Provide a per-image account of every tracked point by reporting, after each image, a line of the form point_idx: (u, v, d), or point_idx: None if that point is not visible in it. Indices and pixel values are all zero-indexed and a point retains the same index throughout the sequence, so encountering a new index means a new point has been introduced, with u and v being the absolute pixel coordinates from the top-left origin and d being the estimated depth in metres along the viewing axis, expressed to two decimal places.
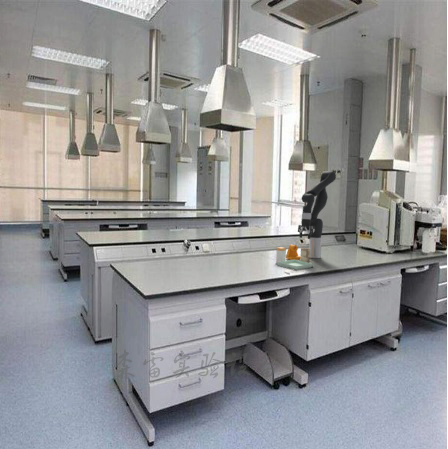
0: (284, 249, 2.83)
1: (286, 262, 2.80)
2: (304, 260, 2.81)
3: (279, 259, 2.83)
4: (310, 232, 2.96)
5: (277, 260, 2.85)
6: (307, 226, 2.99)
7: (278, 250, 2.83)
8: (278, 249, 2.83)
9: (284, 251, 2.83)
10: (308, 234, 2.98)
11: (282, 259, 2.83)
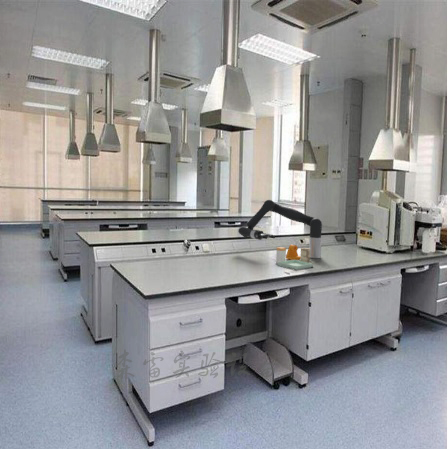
0: (284, 249, 2.83)
1: (286, 262, 2.80)
2: (304, 260, 2.81)
3: (279, 259, 2.83)
4: (260, 238, 2.93)
5: (277, 260, 2.85)
6: (259, 237, 2.99)
7: (278, 250, 2.83)
8: (278, 249, 2.83)
9: (284, 251, 2.83)
10: None
11: (282, 259, 2.83)
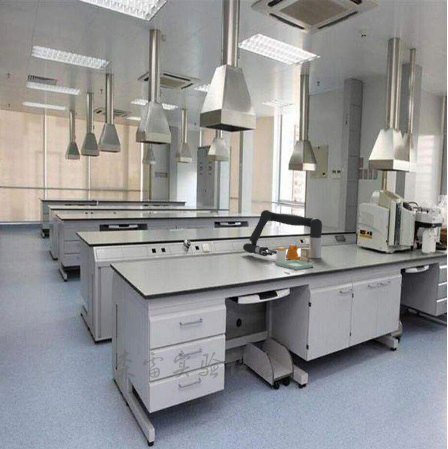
0: (284, 249, 2.83)
1: (286, 262, 2.80)
2: (304, 260, 2.81)
3: (279, 259, 2.83)
4: (265, 255, 2.90)
5: (277, 260, 2.85)
6: None
7: (278, 250, 2.83)
8: (278, 249, 2.83)
9: (284, 251, 2.83)
10: None
11: (282, 259, 2.83)
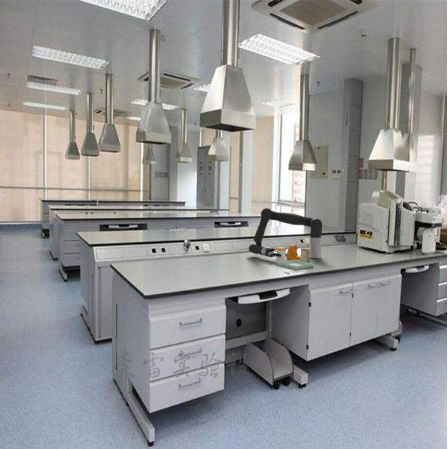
0: (284, 249, 2.83)
1: (286, 262, 2.80)
2: (304, 260, 2.81)
3: (279, 259, 2.83)
4: (273, 256, 2.84)
5: (277, 260, 2.85)
6: None
7: (278, 250, 2.83)
8: (278, 249, 2.83)
9: (284, 251, 2.83)
10: None
11: (282, 259, 2.83)
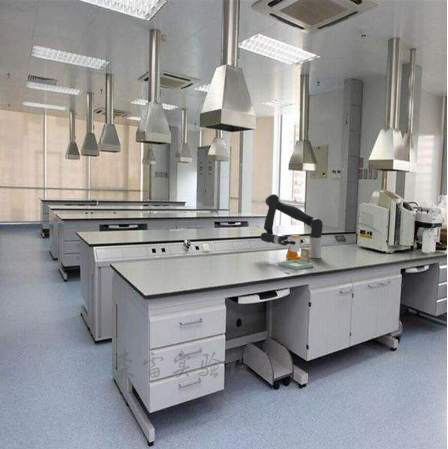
0: (298, 236, 2.71)
1: (286, 262, 2.80)
2: (304, 260, 2.81)
3: (293, 247, 2.70)
4: None
5: (291, 248, 2.72)
6: None
7: (292, 237, 2.71)
8: (292, 236, 2.71)
9: (298, 238, 2.71)
10: None
11: (296, 247, 2.70)
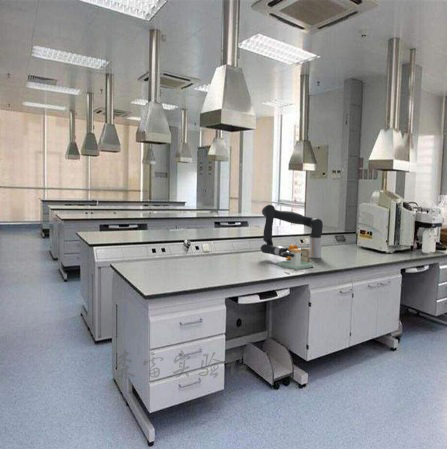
0: (299, 251, 2.71)
1: (286, 262, 2.80)
2: (304, 260, 2.81)
3: (294, 261, 2.70)
4: (286, 256, 2.72)
5: (292, 262, 2.73)
6: None
7: (293, 252, 2.71)
8: (293, 251, 2.71)
9: (299, 253, 2.71)
10: (289, 256, 2.71)
11: (297, 261, 2.71)
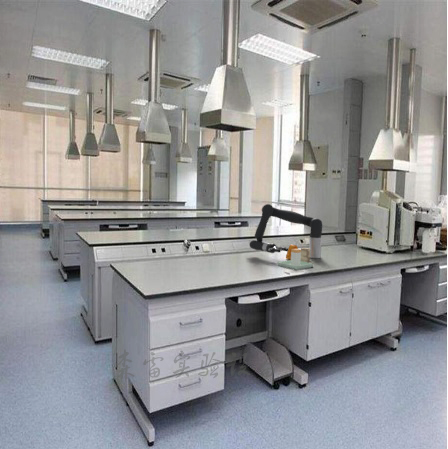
0: (299, 251, 2.71)
1: (286, 262, 2.80)
2: (304, 260, 2.81)
3: (294, 261, 2.70)
4: (272, 251, 2.83)
5: (292, 262, 2.73)
6: None
7: (293, 252, 2.71)
8: (293, 251, 2.71)
9: (299, 253, 2.71)
10: (276, 251, 2.83)
11: (297, 261, 2.71)
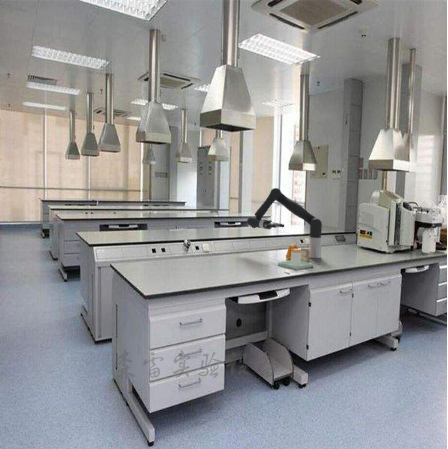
0: (299, 251, 2.71)
1: (286, 262, 2.80)
2: (304, 260, 2.81)
3: (294, 261, 2.70)
4: (269, 227, 2.91)
5: (292, 262, 2.73)
6: (268, 226, 2.96)
7: (293, 252, 2.71)
8: (293, 251, 2.71)
9: (299, 253, 2.71)
10: None
11: (297, 261, 2.71)
